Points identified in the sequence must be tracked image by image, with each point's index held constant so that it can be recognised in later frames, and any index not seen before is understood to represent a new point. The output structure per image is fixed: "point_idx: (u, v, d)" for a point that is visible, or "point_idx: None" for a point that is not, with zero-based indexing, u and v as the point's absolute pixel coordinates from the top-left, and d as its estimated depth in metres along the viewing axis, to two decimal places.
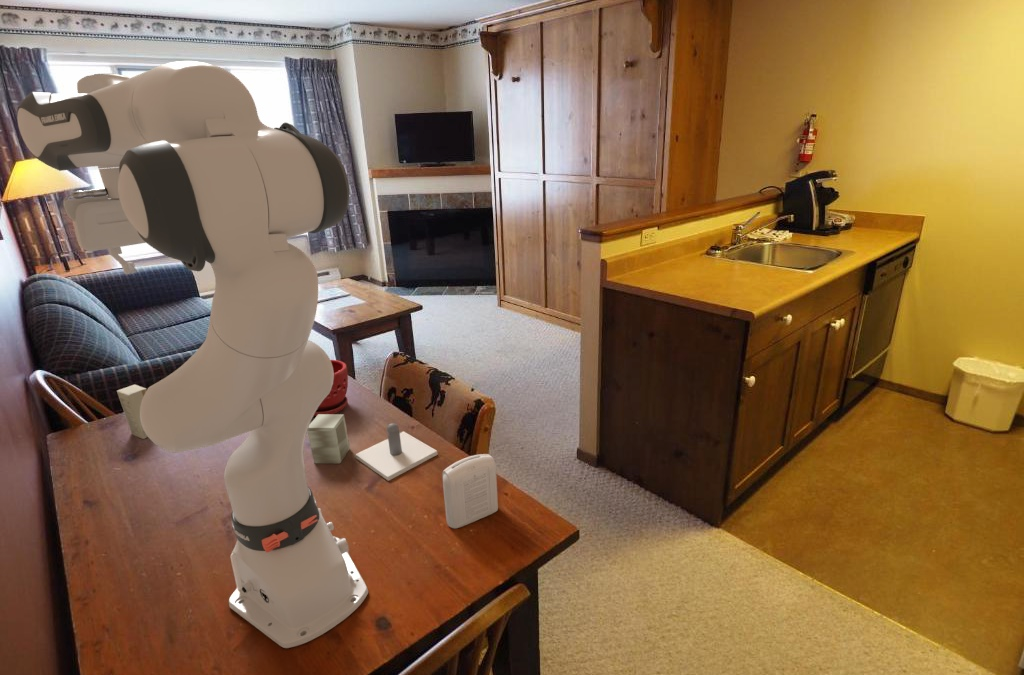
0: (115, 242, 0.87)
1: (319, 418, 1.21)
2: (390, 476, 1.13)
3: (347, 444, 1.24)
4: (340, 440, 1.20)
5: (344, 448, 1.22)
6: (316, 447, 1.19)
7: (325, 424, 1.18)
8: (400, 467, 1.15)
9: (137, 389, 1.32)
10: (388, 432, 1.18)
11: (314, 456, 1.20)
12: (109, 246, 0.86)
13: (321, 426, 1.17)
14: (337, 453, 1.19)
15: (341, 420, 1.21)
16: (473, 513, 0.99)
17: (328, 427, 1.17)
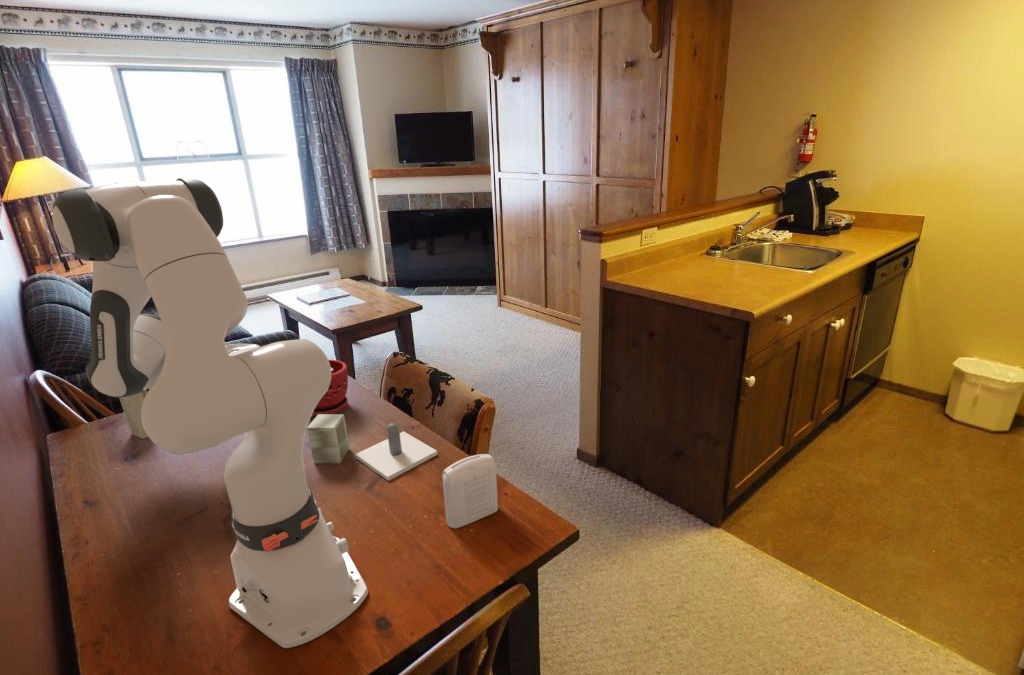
0: None
1: (319, 418, 1.21)
2: (390, 476, 1.13)
3: (347, 444, 1.24)
4: (340, 440, 1.20)
5: (344, 448, 1.22)
6: (316, 447, 1.19)
7: (325, 424, 1.18)
8: (400, 467, 1.15)
9: None
10: (388, 432, 1.18)
11: (314, 456, 1.20)
12: None
13: (321, 426, 1.17)
14: (337, 453, 1.19)
15: (341, 420, 1.21)
16: (473, 513, 0.99)
17: (328, 427, 1.17)
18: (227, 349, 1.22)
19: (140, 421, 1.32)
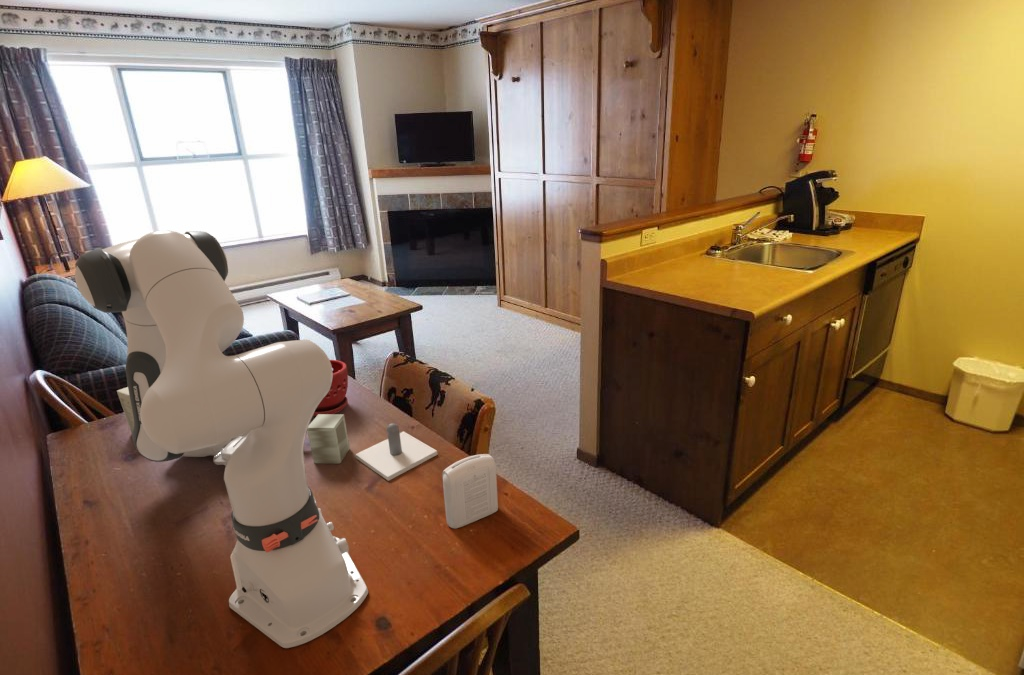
0: None
1: (319, 418, 1.21)
2: (390, 476, 1.13)
3: (347, 444, 1.24)
4: (340, 440, 1.20)
5: (344, 448, 1.22)
6: (316, 447, 1.19)
7: (325, 424, 1.18)
8: (400, 467, 1.15)
9: None
10: (388, 432, 1.18)
11: (314, 456, 1.20)
12: None
13: (321, 426, 1.17)
14: (337, 453, 1.19)
15: (341, 420, 1.21)
16: (473, 513, 0.99)
17: (328, 427, 1.17)
18: None
19: None
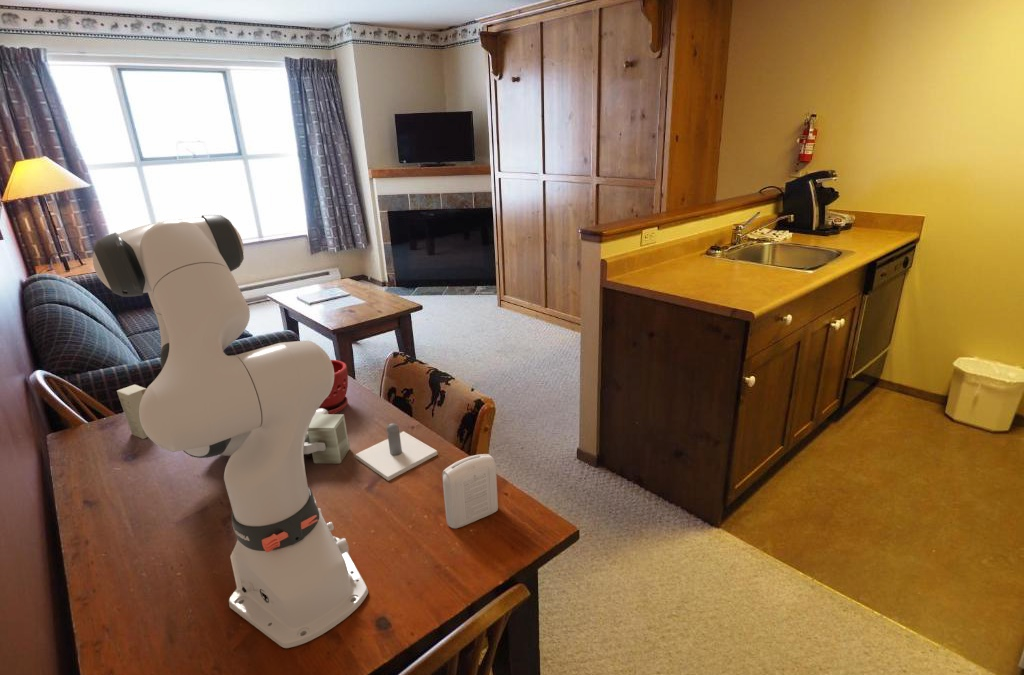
0: None
1: (319, 418, 1.21)
2: (390, 476, 1.13)
3: (347, 444, 1.24)
4: (340, 440, 1.20)
5: (344, 448, 1.22)
6: None
7: (325, 424, 1.18)
8: (400, 467, 1.15)
9: (137, 389, 1.32)
10: (388, 432, 1.18)
11: (314, 456, 1.20)
12: None
13: (321, 426, 1.17)
14: (337, 453, 1.19)
15: (341, 420, 1.21)
16: (473, 513, 0.99)
17: (328, 427, 1.17)
18: None
19: None
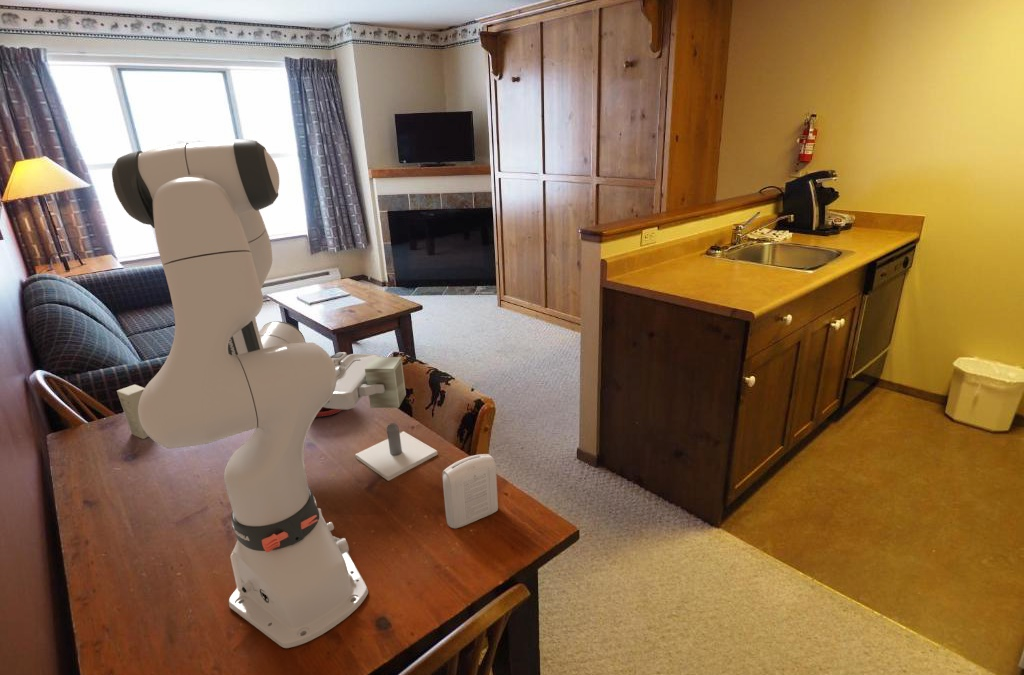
0: (354, 384, 1.09)
1: (376, 360, 1.14)
2: (390, 476, 1.13)
3: (404, 389, 1.18)
4: (398, 383, 1.13)
5: (401, 393, 1.16)
6: None
7: (384, 365, 1.12)
8: (400, 467, 1.15)
9: (137, 389, 1.32)
10: (388, 432, 1.18)
11: (371, 400, 1.13)
12: (354, 386, 1.08)
13: (380, 367, 1.11)
14: (396, 396, 1.13)
15: (399, 362, 1.14)
16: (473, 513, 0.99)
17: (387, 368, 1.11)
18: (349, 359, 1.20)
19: None
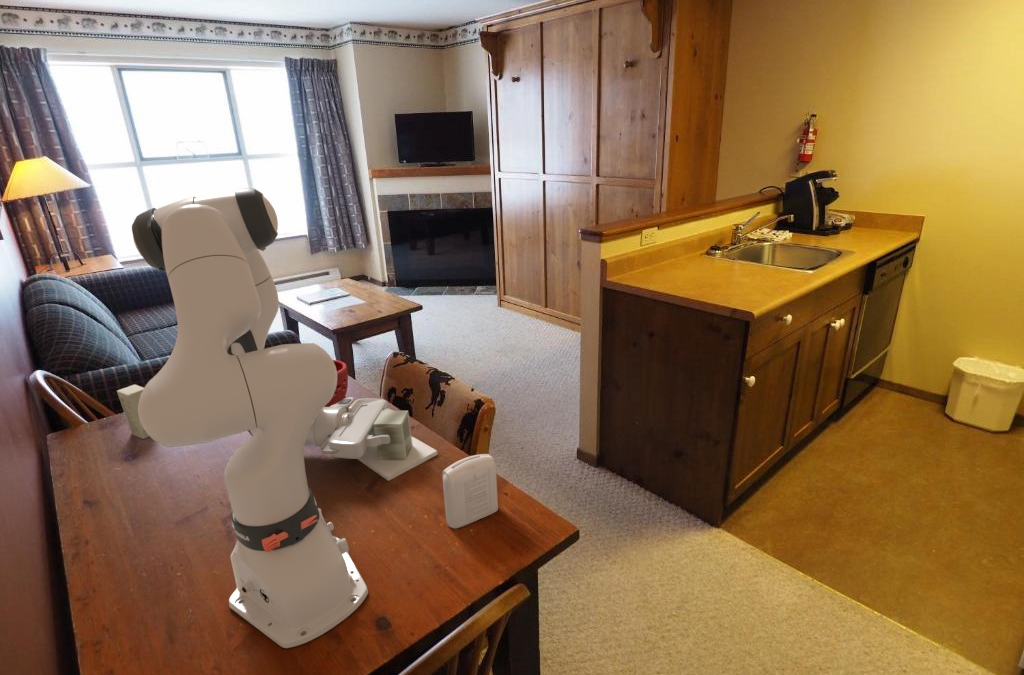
0: (362, 433, 1.13)
1: (384, 414, 1.19)
2: (390, 476, 1.13)
3: (410, 441, 1.22)
4: (405, 436, 1.18)
5: (408, 445, 1.20)
6: (382, 444, 1.17)
7: (391, 420, 1.16)
8: (400, 467, 1.15)
9: (137, 389, 1.32)
10: None
11: (379, 453, 1.18)
12: (363, 435, 1.12)
13: (388, 422, 1.16)
14: (403, 450, 1.17)
15: (406, 416, 1.19)
16: (473, 513, 0.99)
17: (395, 423, 1.15)
18: (357, 405, 1.24)
19: None
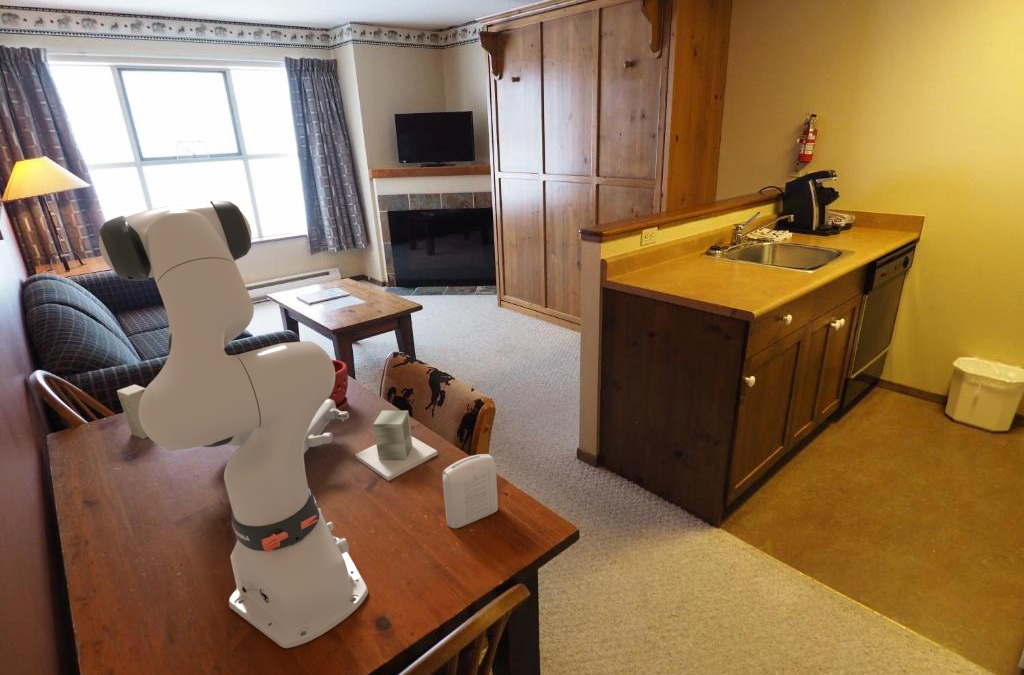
0: None
1: (384, 414, 1.19)
2: (390, 476, 1.13)
3: (410, 441, 1.22)
4: (405, 436, 1.18)
5: (408, 445, 1.20)
6: (382, 444, 1.17)
7: (391, 420, 1.16)
8: (400, 467, 1.15)
9: (137, 389, 1.32)
10: None
11: (379, 453, 1.18)
12: None
13: (388, 422, 1.16)
14: (403, 450, 1.17)
15: (406, 416, 1.19)
16: (473, 513, 0.99)
17: (395, 423, 1.15)
18: None
19: None
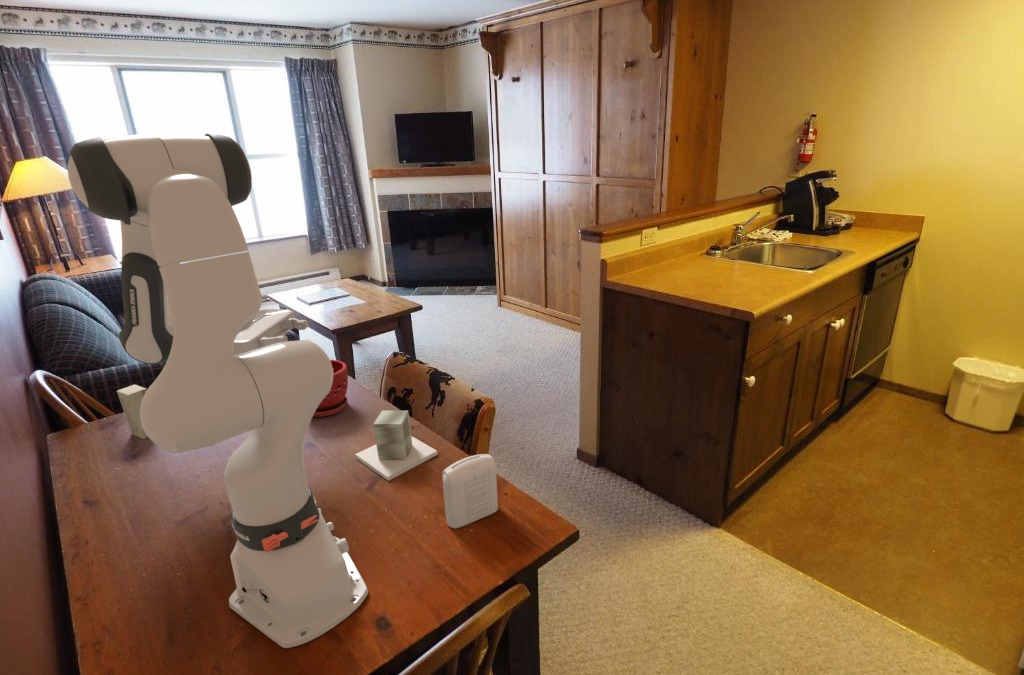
0: (255, 334, 1.07)
1: (384, 414, 1.19)
2: (390, 476, 1.13)
3: (410, 441, 1.22)
4: (405, 436, 1.18)
5: (408, 445, 1.20)
6: (382, 444, 1.17)
7: (391, 420, 1.16)
8: (400, 467, 1.15)
9: (137, 389, 1.32)
10: None
11: (379, 453, 1.18)
12: (255, 336, 1.06)
13: (388, 422, 1.16)
14: (403, 450, 1.17)
15: (406, 416, 1.19)
16: (473, 513, 0.99)
17: (395, 423, 1.15)
18: (260, 314, 1.18)
19: (140, 421, 1.32)
